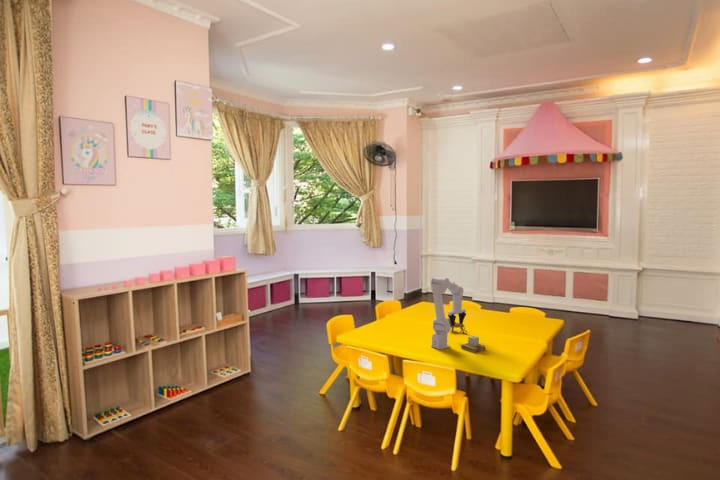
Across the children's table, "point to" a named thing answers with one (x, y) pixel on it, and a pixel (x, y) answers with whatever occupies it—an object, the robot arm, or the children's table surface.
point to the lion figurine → (457, 326)
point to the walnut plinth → (473, 348)
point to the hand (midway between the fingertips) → (456, 324)
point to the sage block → (473, 341)
